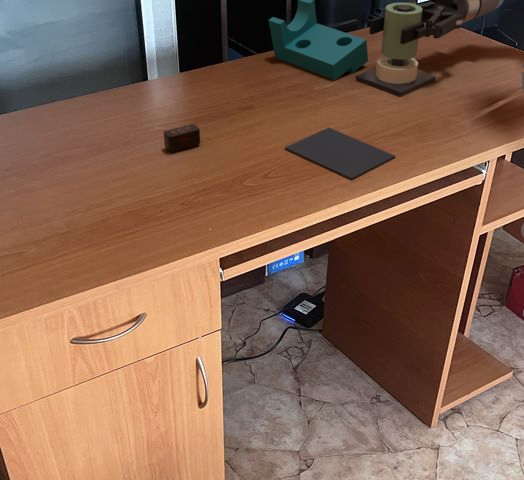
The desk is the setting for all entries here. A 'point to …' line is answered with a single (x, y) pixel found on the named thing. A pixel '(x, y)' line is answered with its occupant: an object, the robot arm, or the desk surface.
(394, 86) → the stack stand
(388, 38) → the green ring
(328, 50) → the teal l-shaped bracket
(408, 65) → the cream ring
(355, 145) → the mat
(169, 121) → the desk surface
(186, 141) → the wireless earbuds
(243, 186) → the desk surface
